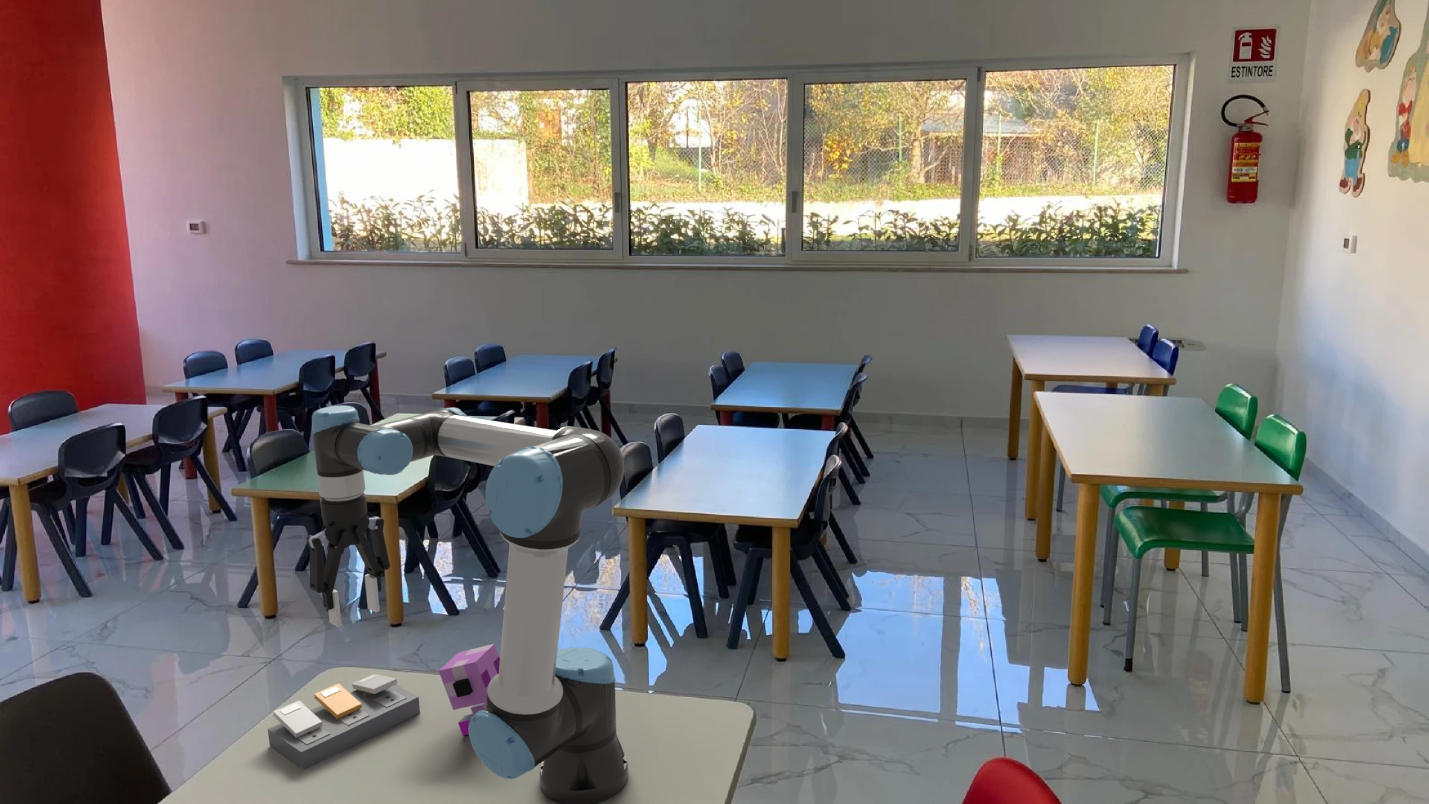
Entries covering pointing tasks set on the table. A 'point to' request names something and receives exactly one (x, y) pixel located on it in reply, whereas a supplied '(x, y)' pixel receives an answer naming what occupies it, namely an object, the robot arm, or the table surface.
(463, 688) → the toy
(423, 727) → the table surface
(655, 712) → the table surface
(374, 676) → the rocker
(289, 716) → the rocker
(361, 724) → the power strip
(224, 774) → the table surface
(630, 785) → the table surface
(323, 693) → the plate
